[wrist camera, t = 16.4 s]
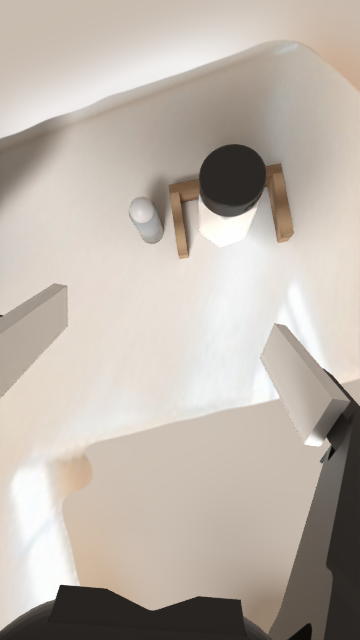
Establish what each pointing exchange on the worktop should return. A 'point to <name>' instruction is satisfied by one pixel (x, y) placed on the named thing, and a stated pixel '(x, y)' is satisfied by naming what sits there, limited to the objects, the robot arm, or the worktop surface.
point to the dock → (273, 181)
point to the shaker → (146, 219)
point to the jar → (229, 193)
